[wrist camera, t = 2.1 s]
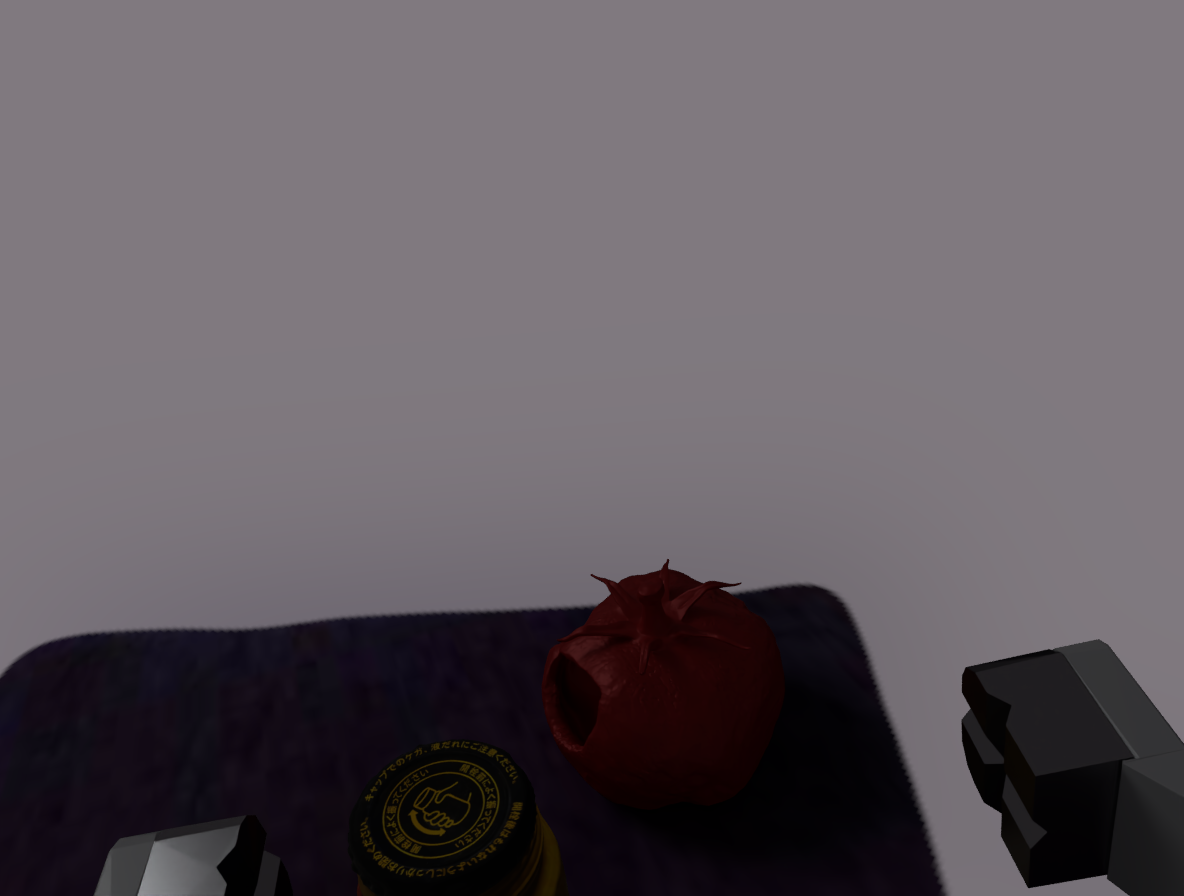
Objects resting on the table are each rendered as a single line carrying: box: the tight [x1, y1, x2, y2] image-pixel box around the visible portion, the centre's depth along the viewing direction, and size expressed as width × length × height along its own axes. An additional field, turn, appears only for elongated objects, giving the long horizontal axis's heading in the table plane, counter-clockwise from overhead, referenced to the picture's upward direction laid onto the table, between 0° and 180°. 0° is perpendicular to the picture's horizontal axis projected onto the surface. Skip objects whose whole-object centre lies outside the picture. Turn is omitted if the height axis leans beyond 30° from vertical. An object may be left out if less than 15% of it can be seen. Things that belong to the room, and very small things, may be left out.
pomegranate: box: [542, 559, 785, 810], centre depth 43 cm, size 10×10×9 cm
